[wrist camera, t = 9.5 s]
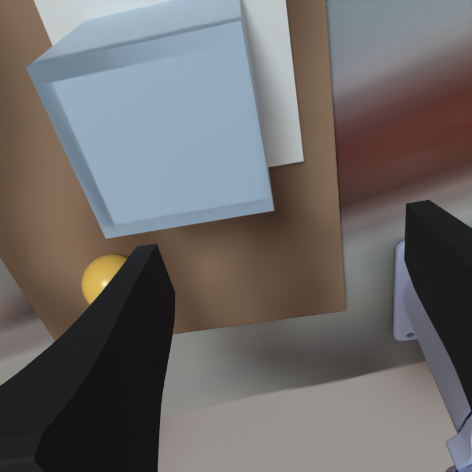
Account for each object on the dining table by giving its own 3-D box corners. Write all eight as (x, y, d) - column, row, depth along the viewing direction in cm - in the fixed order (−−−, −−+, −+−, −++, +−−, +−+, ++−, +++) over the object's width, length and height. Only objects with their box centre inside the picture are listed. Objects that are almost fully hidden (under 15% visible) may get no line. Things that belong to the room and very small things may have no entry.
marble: (135, 238, 23) (124, 277, 21) (152, 280, 25) (144, 320, 23) (81, 247, 24) (64, 286, 21) (102, 288, 25) (88, 328, 23)
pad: (276, -78, 15) (276, -78, 15) (302, 157, 21) (303, 161, 20) (29, -21, 16) (25, -20, 16) (115, 189, 22) (114, 194, 21)
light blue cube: (238, -15, 16) (240, 21, 11) (263, 134, 19) (274, 210, 15) (85, 20, 17) (26, 67, 12) (136, 158, 20) (105, 238, 15)
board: (314, -106, 16) (318, -107, 15) (342, 298, 27) (345, 310, 27) (-146, 2, 18) (-164, 7, 17) (65, 337, 29) (60, 349, 28)
